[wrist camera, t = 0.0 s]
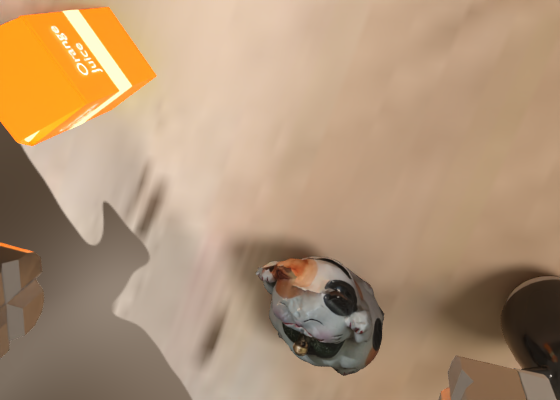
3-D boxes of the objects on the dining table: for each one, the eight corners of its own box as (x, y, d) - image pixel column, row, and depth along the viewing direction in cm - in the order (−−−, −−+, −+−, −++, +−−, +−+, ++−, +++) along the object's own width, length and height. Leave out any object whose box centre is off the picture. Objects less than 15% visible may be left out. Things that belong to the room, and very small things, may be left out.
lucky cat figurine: (256, 323, 67) (213, 321, 54) (303, 242, 68) (271, 222, 55) (357, 391, 62) (336, 407, 49) (407, 303, 62) (399, 295, 49)
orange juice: (109, 5, 56) (-28, 18, 38) (158, 75, 58) (49, 119, 40) (61, 46, 59) (-86, 75, 41) (109, 111, 61) (-12, 167, 43)
